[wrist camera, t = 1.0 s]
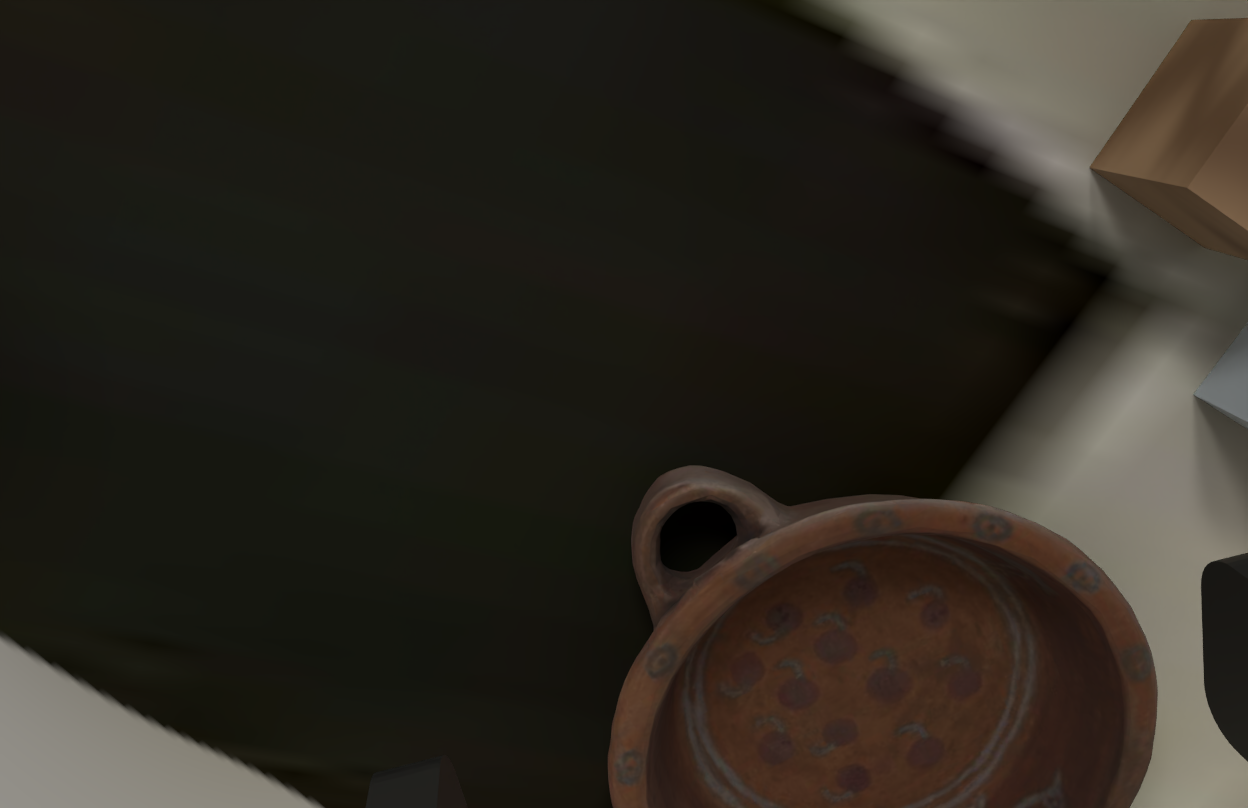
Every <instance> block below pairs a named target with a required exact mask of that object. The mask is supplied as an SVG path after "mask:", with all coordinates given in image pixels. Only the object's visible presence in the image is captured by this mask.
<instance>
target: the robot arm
mask: <svg viewBox="0 0 1248 808" xmlns="http://www.w3.org/2000/svg"><path fill="white" fill-rule="evenodd" d="M1201 596H1202V628H1203V661H1204V686H1205V693H1206V698H1207V701H1208V705H1209V707H1210V710H1211V713H1212V715H1213V717H1214V719H1215V721H1216V723H1217V725H1218V727H1219V729H1220V730H1221V732H1222V733H1223V735H1224V737H1225V738H1226V739H1227V740H1228V742H1229V743H1230V744H1231V745H1232V746H1233V748H1234V749H1235V750H1236V751H1237V752H1238V753H1239V754H1240V755H1241V756H1243V757H1244V758H1245V759H1246V760H1247V761H1248V553H1245V554H1241V555H1237V556H1233V557H1229V558H1225V559H1221V560H1217V561H1213V562H1211V563H1209V564H1207V566H1206V567H1205V569H1204V571H1203V574H1202V579H1201ZM366 808H467V805H466V802H465V799H464V796H463V793H462V790H461V787H460V784H459V781H458V778H457V775H456V772H455V770H454V767H453V765H452V763H451V761H450V759H449V758H448V757H447V756H446V755H443V756H439V757H435V758H431V759H427V760H424V761H420V762H416V763H412V764H408V765H404V766H400V767H396V768H392V769H388V770H384V771H380V772H377V773H374V775H373V776H372V778H371V782H370V787H369V793H368V798H367V804H366Z"/></svg>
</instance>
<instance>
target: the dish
mask: <svg viewBox="0 0 1248 808" xmlns="http://www.w3.org/2000/svg"><path fill="white" fill-rule="evenodd" d="M699 501H704V502H713V503H716V504H718V505H721V506H722V507H723V508H724V509H725V510H726V511H727V512H728V513H729V514H730V515H731V516H732V519H733V521H734V523H735V525H736V531H737V536H735V537H734V538H733V539H732V540H731V541H729V542H728V543H727V544H726V545H725V546H724V547H722V548H721V549H720V550H719V551H718V552H716V553H715V554H714V555H713V556H712V557H711V558H710V559H709V560H708V561H706V562H705V563H704V564H703V565H702V566H701V567H699V568H698V569H696V570H692V571H689V572H680V571H675V570H671V569H669V568H667V567H666V566H665V565H663V563H662V561H661V555H660V532H661V529H662V527H663V525H664V524H665V522H666V521H667V520H668V518H669V517H670V516H671V515H672V514H673V513H674V512H675V511H676V510H677V509H679V508H680V507H683V506H685V505H687V504H689V503H694V502H699ZM631 548H632V561H633V567H634V570H635V574H636V578H637V581H638V583H639V586H640V588H641V591H642V594H643V596H644V599H645V601H646V604H647V606H648V609H649V612H650V615H651V619H652V622H653V628H654V631H653V633H652V634H651V636H650V637H649V639H648V640H647V642H646V644H645V645H644V647H643V648H642V650H641V651H640V653H639V654H638V656H637V657H636V659H635V661H634V663H633V665H632V667H631V669H630V671H629V673H628V675H627V677H626V679H625V681H624V684H623V687H622V690H621V693H620V695H619V699H618V703H617V707H616V711H615V715H614V718H613V722H612V732H611V741H610V747H609V752H608V781H609V789H610V796H611V801H612V805H613V808H1130V806H1131V804H1132V802H1133V800H1134V798H1135V797H1136V795H1137V793H1138V791H1139V789H1140V787H1141V784H1142V782H1143V779H1144V777H1145V774H1146V772H1147V769H1148V766H1149V763H1150V760H1151V755H1152V749H1153V741H1154V735H1155V727H1156V718H1157V697H1158V690H1157V680H1156V673H1155V667H1154V662H1153V658H1152V653H1151V650H1150V647H1149V645H1148V642H1147V639H1146V637H1145V634H1144V632H1143V630H1142V628H1141V627H1140V625H1139V623H1138V620H1137V618H1136V616H1135V614H1134V612H1133V610H1132V608H1131V606H1130V605H1129V603H1128V602H1127V601H1126V599H1125V598H1124V597H1123V595H1122V594H1121V593H1120V591H1119V590H1118V589H1117V587H1116V586H1115V585H1114V583H1113V582H1112V581H1111V580H1110V579H1109V577H1108V576H1107V575H1106V574H1105V572H1104V571H1103V570H1102V569H1101V568H1100V567H1098V566H1097V565H1096V564H1095V563H1094V562H1093V561H1092V560H1091V559H1090V558H1089V557H1087V556H1086V555H1085V554H1084V553H1083V552H1082V551H1081V550H1080V549H1078V548H1077V547H1076V546H1075V545H1073V544H1072V543H1071V542H1070V541H1068V540H1067V539H1065V538H1064V537H1062V536H1060V535H1058V534H1056V533H1054V532H1052V531H1050V530H1048V529H1046V528H1045V527H1043V526H1041V525H1039V524H1037V523H1035V522H1032V521H1029V520H1027V519H1025V518H1022V517H1020V516H1017V515H1015V514H1012V513H1010V512H1008V511H1004V510H1001V509H997V508H994V507H991V506H987V505H982V504H976V503H970V502H964V501H951V500H939V499H920V498H914V497H908V496H902V495H879V494H868V495H858V496H849V497H840V498H832V499H824V500H819V501H814V502H809V503H804V504H800V505H795V506H786V505H783V504H781V503H779V502H777V501H775V500H774V499H773V498H771V497H770V496H768V495H767V494H765V493H764V492H763V491H761V490H760V489H758V488H757V487H756V486H754V485H753V484H751V483H749V482H747V481H745V480H743V479H740V478H738V477H736V476H733V475H731V474H729V473H726V472H724V471H720V470H717V469H713V468H709V467H704V466H695V465H690V466H685V467H681V468H677V469H674V470H671V471H669V472H667V473H665V474H663V475H661V476H659V477H658V478H657V479H656V481H655V482H654V483H653V484H652V486H651V487H650V488H649V490H648V491H647V492H646V494H645V496H644V498H643V500H642V502H641V505H640V507H639V509H638V511H637V513H636V515H635V518H634V520H633V527H632V536H631Z"/></svg>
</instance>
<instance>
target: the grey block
mask: <svg viewBox="0 0 1248 808" xmlns="http://www.w3.org/2000/svg"><path fill="white" fill-rule="evenodd" d="M1193 395H1195V396H1196V397H1198V398H1200V399H1201V400H1203V401H1204V402H1206V403H1207V404H1209V405H1210V406H1212V407H1214V408H1215V409H1217V410H1218V411H1220V412H1221V413H1223V414H1225V415H1226V416H1228V417H1229V418H1231V419H1232V420H1234V421H1235V422H1237V423H1239V424H1240V425H1242V426H1243V427H1245V428H1246V429H1248V323H1247V324H1246V325H1245V327H1244V328H1243V329H1242V330H1241V332H1240V333H1239V334H1238V336H1237V337H1236V338H1235V340H1234V341H1233V342H1232V344H1231V345H1230V346H1229V348H1228V349H1227V350H1226V352H1225V353H1224V354H1223V356H1222V357H1221V358H1220V360H1219V361H1218V362H1217V364H1216V365H1215V366H1214V368H1213V369H1212V370H1211V372H1210V373H1209V374H1208V376H1207V377H1206V378H1205V380H1204V381H1203V382H1202V383H1201V385H1200V386H1199V387H1198V389H1197V390H1196V391H1195V393H1194V394H1193Z"/></svg>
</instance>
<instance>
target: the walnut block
mask: <svg viewBox="0 0 1248 808" xmlns="http://www.w3.org/2000/svg"><path fill="white" fill-rule="evenodd" d="M1090 168H1091V169H1092V170H1094V171H1095V172H1097V173H1098V174H1099V175H1101V176H1102V177H1104V178H1105V179H1107V180H1108V181H1110V182H1111V183H1112V184H1114V185H1115V186H1117V187H1118V188H1120V189H1121V190H1122V191H1124V192H1125V193H1127V194H1128V195H1130V196H1131V197H1133V198H1134V199H1135V200H1137V201H1138V202H1140V203H1141V204H1143V205H1144V206H1145V207H1147V208H1148V209H1150V210H1151V211H1153V212H1154V213H1156V214H1157V215H1158V216H1160V217H1161V218H1163V219H1164V220H1166V221H1167V222H1169V223H1170V224H1171V225H1173V226H1174V227H1176V228H1177V229H1179V230H1180V231H1181V232H1183V233H1184V234H1186V235H1187V236H1189V237H1190V238H1192V239H1193V240H1194V241H1196V242H1197V243H1199V244H1200V245H1202V246H1203V247H1204V248H1208V249H1211V250H1215V251H1218V252H1222V253H1225V254H1229V255H1232V256H1236V257H1239V258H1243V259H1246V260H1248V18H1235V19H1207V20H1191V21H1190V23H1189V24H1188V26H1187V27H1186V29H1185V30H1184V32H1183V33H1182V34H1181V36H1180V37H1179V39H1178V40H1177V42H1176V43H1175V45H1174V46H1173V47H1172V49H1171V50H1170V52H1169V53H1168V55H1167V56H1166V58H1165V59H1164V61H1163V62H1162V63H1161V65H1160V66H1159V68H1158V69H1157V71H1156V72H1155V74H1154V75H1153V76H1152V78H1151V79H1150V81H1149V82H1148V84H1147V85H1146V87H1145V88H1144V89H1143V91H1142V92H1141V94H1140V95H1139V97H1138V98H1137V100H1136V101H1135V102H1134V104H1133V105H1132V107H1131V108H1130V110H1129V111H1128V113H1127V114H1126V116H1125V117H1124V118H1123V120H1122V121H1121V123H1120V124H1119V126H1118V127H1117V129H1116V130H1115V131H1114V133H1113V134H1112V136H1111V137H1110V139H1109V140H1108V142H1107V143H1106V144H1105V146H1104V147H1103V149H1102V150H1101V152H1100V153H1099V155H1098V156H1097V157H1096V159H1095V160H1094V162H1093V163H1092V165H1091V166H1090Z"/></svg>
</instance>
